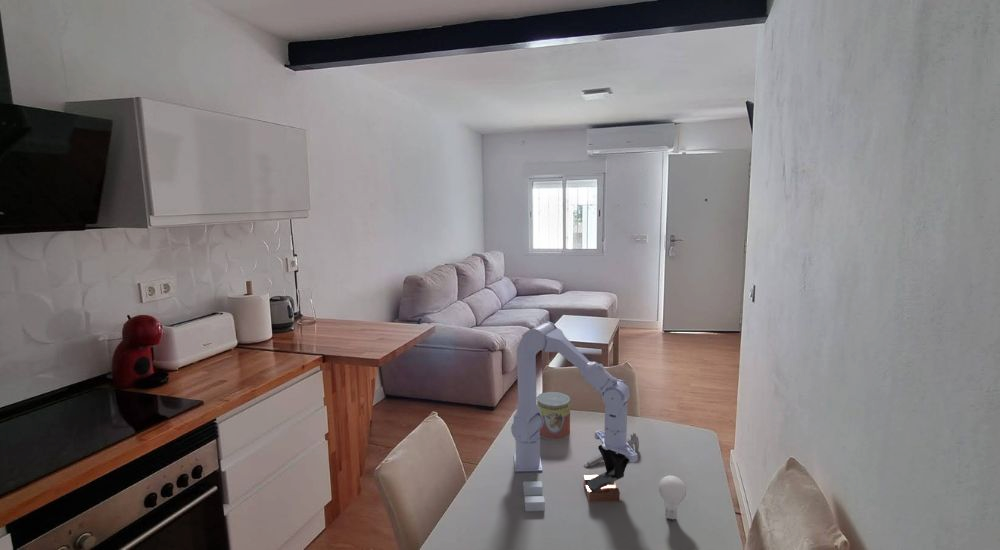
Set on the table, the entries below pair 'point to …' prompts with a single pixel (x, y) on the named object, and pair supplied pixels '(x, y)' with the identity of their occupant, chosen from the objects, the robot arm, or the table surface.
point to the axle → (602, 480)
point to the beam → (533, 501)
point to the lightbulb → (672, 494)
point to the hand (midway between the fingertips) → (614, 474)
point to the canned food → (554, 415)
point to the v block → (602, 491)
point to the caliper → (630, 441)
